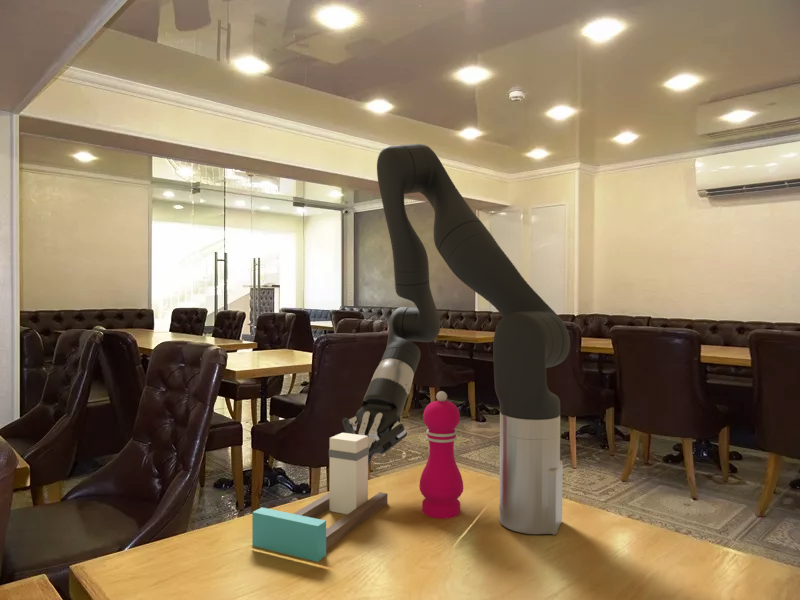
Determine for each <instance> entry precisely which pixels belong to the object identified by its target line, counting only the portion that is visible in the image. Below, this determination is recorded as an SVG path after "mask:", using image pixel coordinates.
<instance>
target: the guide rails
mask: <svg viewBox="0 0 800 600" xmlns="http://www.w3.org/2000/svg"><path fill="white" fill-rule="evenodd" d="M329 494H330V491H329V492H328V493H326V494H324V495H322V496H320V497H318V498H317V499H316V500H314V501H312V502H311V503H308V504H306V505H305V506H303V507H302V508H300V509H298V510H297V511H296V512H294V513H292V514H296V515H301V516H306V517H311V518H316V519H317V517H319V516H320V515H322V514H323V513H325V512H326V511H328V510H329ZM387 505H388V493H387V492H381V491H380V492H378V493H377V494H375V495H373V496H372V497H370V498H368V501H366V502H365V503H363V504H362V505H360V506H359V507H357V508H356V509H355V510H353V511H352V512H350V513H349V514H345V515H344V516H343V517H342V518H340V519H338V520H337V521H336V522H334V523H333V524H332V525H330V526H328V527H326V551H327V550H328V549H330V548H331V547H332V546H334V545H335V544H336V543H337V542H339V541H340V540H342V539H343V538H344V537H346V536H347V535H348V534H349V533H351V532H352V531H354V529H356V528H357V527H358V526H360V525H361V524H362V523H364V522H365V521H367V520H368V519H369V518H371V517H372V516H373V515H375V514H376V513H377V512H379V511H380V510H381V509H382V508H384V507H385V506H387Z"/></svg>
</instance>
